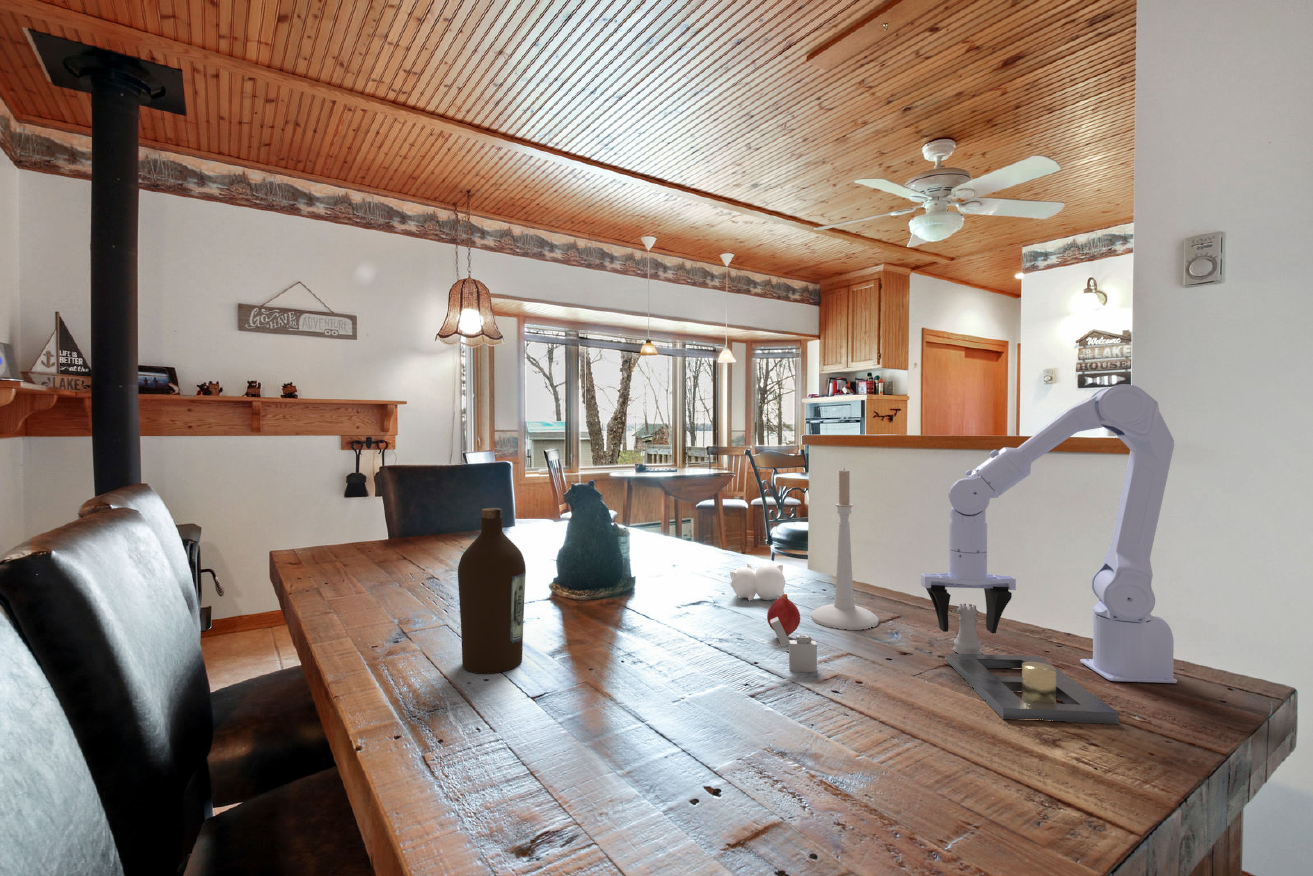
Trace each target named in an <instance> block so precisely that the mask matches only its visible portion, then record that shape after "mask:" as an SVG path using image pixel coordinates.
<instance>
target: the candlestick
mask: <svg viewBox="0 0 1313 876" xmlns="http://www.w3.org/2000/svg"><path fill="white" fill-rule="evenodd" d="M850 479H851V478H850V470H846V469H845V468H843V470H838V503H835V504H834V505H835V506H836V508H837V514H838V515H839V516H838V517H839V522H838V538H837V539H838V540H837V555H836V556H837V558H836V575H835V576H836V577H835V595H834V602H833V603H831V604H824V605H822V606H819V607H817V608H815V609H814V610H813V611H812V612H811V613H810V619H811V618H812V619H811V620H812V621H813V622H814V623H815V624H817V623H818V625H820V624H821V625H820V626H823V625H824V626H823V627H827V628H830V627H833V628H832V629H836V628H839V629H838V630H844V629H847V630H846V631H861V630H862V629H864V630H869V629H868V628H870V629H872V628H871V627H873V628H875V627H877V626H879V620H880V619H879V618H878V616H877V615H875V613H873V612H872V611H870V610H869V609H867V608H865V607H861V606H859V605H856V604H855V600H854V583H853V571H852V570H853V567H852V547H851V546H852V545H851V529H850V527H851V526H850V525H851V523H850V521H849V517H850V515H851V514H852V507H854V504H853V503H850V500H851V499H850V495H851V494H850V490H851V489H850Z"/></svg>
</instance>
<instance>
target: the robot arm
mask: <svg viewBox="0 0 1313 876" xmlns="http://www.w3.org/2000/svg"><path fill="white" fill-rule="evenodd" d="M1100 428H1105V429H1106V430H1108V431H1109V432H1112V433H1113V434H1115V435H1116V437H1117V438H1118V439H1119V440H1120V441H1121V442H1122V443H1123V444H1124V445H1125V446H1126V447H1127V448H1128V449H1129V455H1128V462H1127V466H1126V470H1125V475H1124V480H1123V485H1122V488H1121V493H1120V499H1119V503H1118V508H1117V513H1116V518H1115V522H1114V527H1113V533H1112V536H1111V543H1110V546H1109V549H1108V550H1107V552H1106V553H1105V556H1104V557H1103V561H1102V564H1101V566H1100V568H1099V569H1098V570H1097V571H1096V572H1095V573H1094V574H1093V576H1092V579H1091V589H1092V592H1093V594H1094V595H1095V596H1096V598H1098V599H1099V600H1098V602H1097V603H1096V604H1095V605H1094V606H1093V607H1092V611H1093V612H1092V658H1080V661H1079V662H1080V663H1081V664H1082V665H1085V666H1086V667H1088V668H1089V669H1091V670H1092V671H1094V672H1095V673H1097V674H1099V675H1100V676H1101V677H1103V678H1105V679H1107V680H1108V681H1110V682H1111V681H1112V682H1134V683H1135V682H1137V683H1163V684H1165V683H1166V684H1178V679H1177V678H1175V677H1174V655H1175V654H1174V652H1175V651H1174V648H1175V647H1174V644H1175V643H1174V641H1175V640H1174V636H1173V632H1172V629H1171V627H1170V625H1169V623H1168V622H1167V621H1166V620H1164V619H1163V618H1162V617H1160V616H1156V615H1152V614H1151V613H1152V612H1153V610H1154V608H1155V605H1156V596H1155V593H1154V590H1153V588H1152V587H1153V586H1152V582H1153V581H1152V580H1153V569H1152V563H1151V556H1152V550H1153V545H1154V541H1155V536H1156V531H1157V526H1158V522H1159V519H1160V518H1159V517H1160V513H1161V509H1162V504H1163V499H1164V494H1165V489H1166V485H1167V480H1168V475H1169V471H1170V468H1171V467H1170V466H1171V461H1172V458H1173V453H1174V449H1175V448H1174V446H1175V440H1174V437H1173V435H1172V433H1171V432H1170V429H1169V428H1168V425H1167V423H1166V421H1165V419H1164V418H1163V416H1162V414H1161V412H1160V406H1159V402H1158V401H1157V400H1155V398H1153V396H1151V395H1150V394H1149V393H1148V392H1146V391H1145V390H1143V389H1142V388H1141V387H1139V386H1136V385H1133V384H1129V383H1128V384H1127V383H1124V384H1123V383H1122V384H1116V385H1114V386H1111V387H1105V388H1102V389H1099V390H1097V391H1096V392H1095V393H1093V394H1092V395H1091V396H1090V397H1087V398H1084V399H1083V400H1081V401H1079V402H1077V403H1075V404H1074V405H1072V406H1070V407H1069V408H1067V409H1066V410H1064V411H1063V412H1061V413H1060V414H1059V415H1057V416H1056V417H1055V418H1054V419H1052V420H1051V421H1050V422H1049V423H1047V424H1046V425H1045V426H1043V427H1042V428H1041V429H1040V430H1039V431H1037V432H1036V433H1035V434H1033V435H1032V436H1030V437H1029V438H1028V439H1027V440H1026V441H1024V442H1023V443H1022V444H1020V445H1019V446H1018V447H1007V446H1005V447H1002V448H1001V449H999V450H997V449H993V450H992V451H991V452H989V454H988V455H989V456H990V457H988V458H987V459H986V460H985V461H983V462H982V463H981V464H979V465H978V466H977V467H975V468H974V469H972V470H971V469H967V470H966V471H965V472H964V474H965V475H966V478H960V479H958V480H956V481H955V482H953V484H952V485H951V487H950V489H949V493H948V498H949V502H950V504H951V507H950V511H949V518H950V520H949V523H948V524H949V526H948V528H949V529H948V531H949V533H948V536H949V537H948V543H949V544H948V556H949V557H948V559H949V560H948V572H942V573H941V572H940V573H939V572H938V573H921V574H920V575H921V576H920V584H921V586H922V587H923V588H925V589H926V592H927V594H928V595H929V598H930V599H931V602H932V604H933V606H934V609H935V613H936V616H937V620H938V621H937V622H938V627H939V629H940V631H942V632H943V633H945V632H946V633H948V632H949V609H950V608H949V607H950V606H949V605H950V600H951V594H950V593H949V592H948V589H947V588H951V589H952V588H956V589H957V588H960V589H983V591H984V596H985V606H986V607H985V608H986V614H985V625H986V631H988V632H989V633H991V634H996V633H997V631H998V630H997V629H998V626H999V622H1000V619H1001V616H1002V615H1003V613H1004V610H1005V608H1006V607H1007V605H1008V603H1010V601H1011V600H1012V592H1011V591H1016V589H1017V588H1016V587H1017V586H1016V584H1017V582H1016V581H1017V580H1016V578H1015V577H1013V576H1011V575H1000V574H988V524H987V522H986V510H987V508H988V506H989V504H990V499H997V498H999V497H1000V496H1002V495H1003V494H1004V493H1006V492H1007V491H1009V490H1010V489H1011V488H1013V487H1015V486H1016V485H1017V484H1018V483H1020V482H1021V481H1023V480H1024V479H1026V478H1028V477H1029V476H1030V475H1031V470H1032V464H1033V462H1035V461H1036V460H1038V459H1039V458H1041V457H1042V456H1043V455H1045V454H1047V453H1048V452H1050V451H1051V450H1053V449H1054V448H1057V446H1059V445H1060V444H1061V443H1063V442H1064V441H1066V440H1069V438H1071V437H1072V436H1074V435H1075V434H1077V433H1079V432H1085V431H1088V430H1089V431H1090V430H1096V429H1100Z"/></svg>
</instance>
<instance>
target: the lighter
mask: <svg viewBox="0 0 1313 876" xmlns="http://www.w3.org/2000/svg"><path fill="white" fill-rule="evenodd" d="M770 622H771V625H772V627H773V629H774V630H773V629H772V630H773V632H774V633H775V636H776V637H777V640H778V641H779V643H780V645H781V647H785V646H788V669H789V672H808V673H817V672H818V643H817V641H816V640H813V639H812V637H811V636H810V635H807V634H796V636H795V637H796V639H795V640H794V639H789V636H788V637H787V635H786V633H785V631H784V629H783V627H782V625H781V623H780V621H779V618H778V617H776V618H774V619H771V620H770Z"/></svg>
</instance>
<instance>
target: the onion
mask: <svg viewBox="0 0 1313 876" xmlns="http://www.w3.org/2000/svg"><path fill="white" fill-rule="evenodd" d="M766 614H767V615H766V618H767V624H768V625H769V627H770V628H771V629H772V630H773V631H774V629H773V627H772V625H771V622H770V620H771V619H774V618H776V617H778V618H779V621H780V623H781V625H782V627H783V629H784V631H785V633H786V635H787V637H788V638H789V636H790V635H791V634H792V633H794V632H795V631H796V630H797V629H798V627H799V625H800V624H801V614H800V611H799V609H798V607H797V605H796V604H795V603H794V602H792V600H790V599H789V597H788V593H784V594H783V595H782V596H781V597H780V598H776V599H775V600H774V601H773V602H772V603H771V605H770V606H769V608H768V611H767V613H766Z"/></svg>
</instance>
